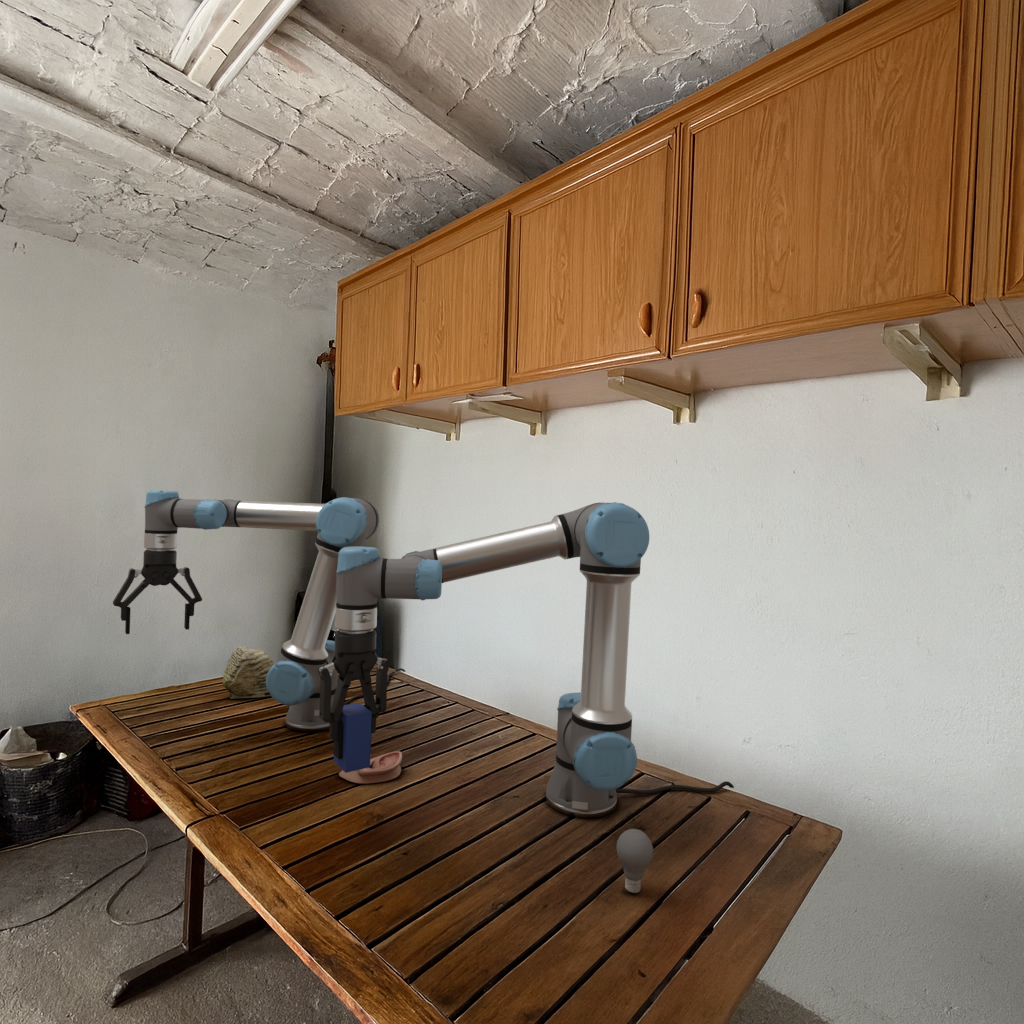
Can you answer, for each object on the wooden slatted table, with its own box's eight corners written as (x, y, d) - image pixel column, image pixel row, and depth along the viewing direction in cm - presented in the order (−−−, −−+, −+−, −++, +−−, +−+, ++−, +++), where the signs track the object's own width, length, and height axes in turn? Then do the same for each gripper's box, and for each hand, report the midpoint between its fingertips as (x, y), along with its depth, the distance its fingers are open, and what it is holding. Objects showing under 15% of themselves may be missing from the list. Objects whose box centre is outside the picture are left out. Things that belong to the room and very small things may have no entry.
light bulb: (610, 879, 108) (613, 822, 108) (644, 879, 109) (647, 822, 109) (619, 902, 102) (622, 840, 102) (655, 901, 103) (658, 840, 103)
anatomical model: (332, 762, 141) (355, 743, 152) (332, 780, 141) (355, 759, 153) (388, 770, 139) (407, 750, 150) (388, 788, 139) (407, 766, 150)
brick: (345, 773, 115) (347, 716, 115) (333, 761, 120) (335, 706, 119) (370, 767, 118) (371, 711, 117) (357, 756, 122) (359, 702, 122)
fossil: (218, 695, 195) (220, 647, 195) (278, 685, 208) (279, 640, 207) (228, 703, 189) (230, 653, 188) (289, 692, 201) (290, 645, 201)
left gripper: (104, 551, 154) (101, 638, 155) (215, 550, 169) (212, 629, 169) (102, 548, 160) (99, 632, 161) (209, 547, 175) (207, 624, 175)
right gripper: (315, 638, 110) (311, 771, 110) (408, 629, 120) (404, 750, 121) (301, 630, 116) (298, 756, 116) (391, 622, 126) (387, 737, 127)
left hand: (157, 630), depth 165 cm, fingers open, 13 cm apart
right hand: (352, 753), depth 119 cm, fingers closed on brick, 5 cm apart
